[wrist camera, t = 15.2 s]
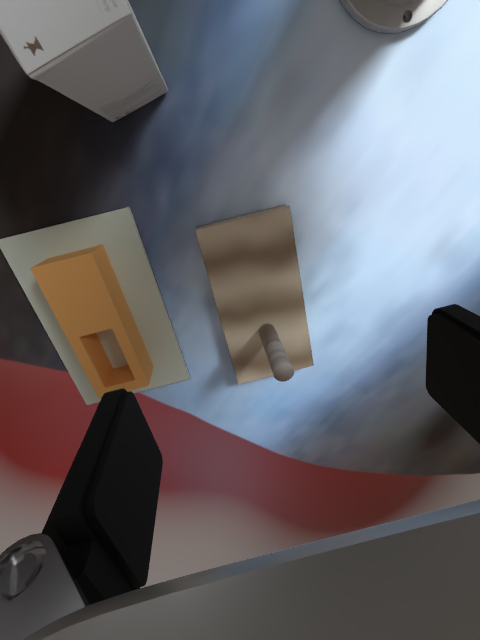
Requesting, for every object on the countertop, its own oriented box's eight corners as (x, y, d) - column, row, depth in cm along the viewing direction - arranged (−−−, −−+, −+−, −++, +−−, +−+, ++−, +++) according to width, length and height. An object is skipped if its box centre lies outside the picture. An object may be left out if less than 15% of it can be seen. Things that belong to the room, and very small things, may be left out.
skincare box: (170, 93, 30) (141, 22, 16) (108, 127, 31) (28, 87, 16) (117, -20, 26) (22, -239, 12) (48, 20, 27) (-117, -144, 13)
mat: (-2, 239, 34) (-5, 240, 33) (129, 206, 34) (128, 207, 33) (87, 403, 43) (86, 405, 43) (190, 377, 43) (190, 378, 43)
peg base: (195, 227, 35) (193, 248, 25) (285, 204, 35) (318, 217, 25) (237, 375, 44) (247, 435, 34) (308, 357, 44) (340, 412, 34)
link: (153, 366, 41) (149, 385, 38) (108, 378, 41) (99, 398, 38) (102, 244, 34) (91, 252, 31) (48, 258, 34) (29, 268, 31)
